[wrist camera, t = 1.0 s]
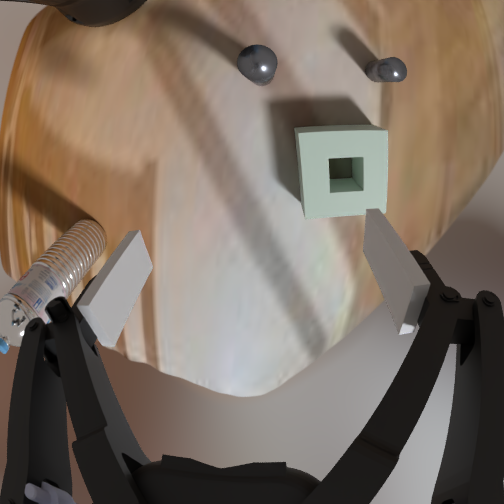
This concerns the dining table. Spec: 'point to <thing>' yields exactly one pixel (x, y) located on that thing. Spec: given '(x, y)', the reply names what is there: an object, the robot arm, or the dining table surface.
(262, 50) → the long pin
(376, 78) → the short pin
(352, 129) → the hole block
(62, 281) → the water bottle
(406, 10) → the dining table surface
